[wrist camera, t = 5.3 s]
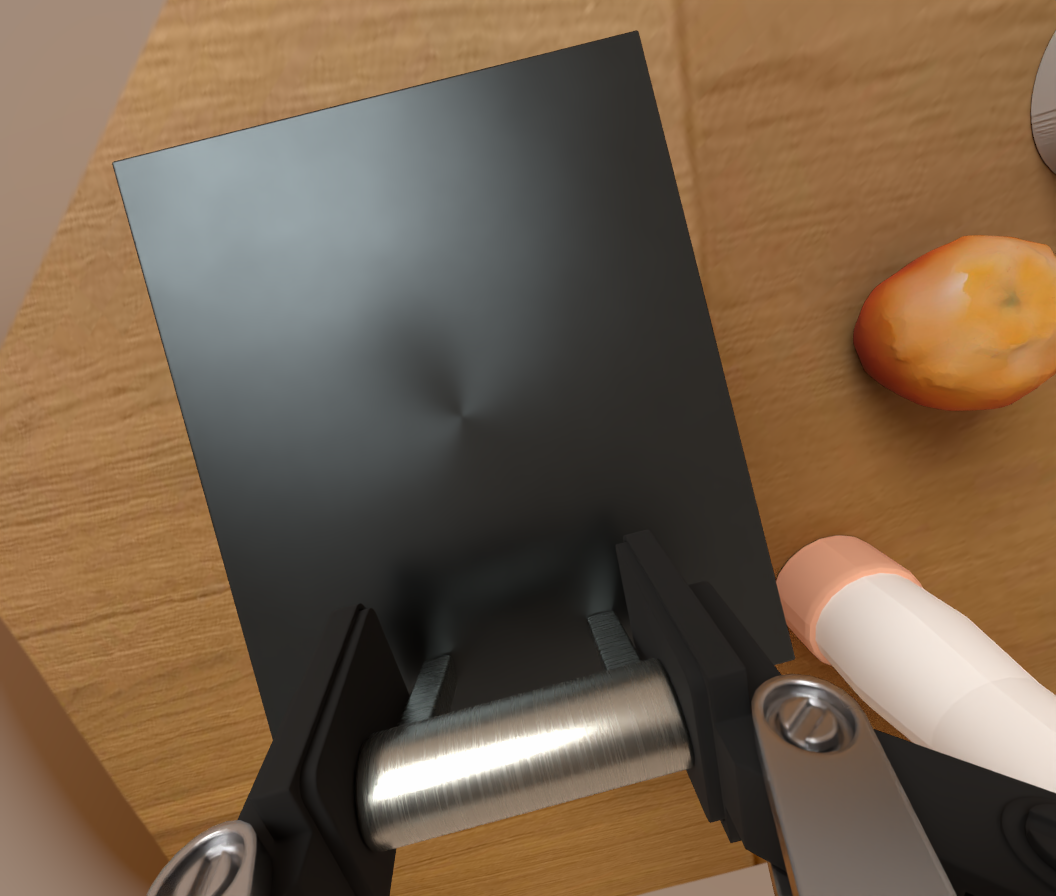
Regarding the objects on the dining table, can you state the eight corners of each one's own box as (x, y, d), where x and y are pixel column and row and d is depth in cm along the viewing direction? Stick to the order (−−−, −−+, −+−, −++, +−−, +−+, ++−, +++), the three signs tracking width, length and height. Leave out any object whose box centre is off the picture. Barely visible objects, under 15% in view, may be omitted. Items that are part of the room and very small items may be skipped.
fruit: (885, 455, 27) (991, 430, 20) (800, 341, 29) (866, 277, 21) (1021, 380, 27) (1187, 323, 19) (926, 268, 28) (1042, 173, 21)
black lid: (779, 646, 13) (973, 801, 7) (302, 774, 12) (136, 1032, 7) (630, 55, 12) (719, -248, 7) (137, 179, 12) (-172, -30, 7)
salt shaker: (846, 640, 33) (1281, 1061, 15) (754, 620, 32) (1110, 1055, 14) (900, 548, 31) (1474, 909, 13) (804, 523, 30) (1296, 887, 12)
